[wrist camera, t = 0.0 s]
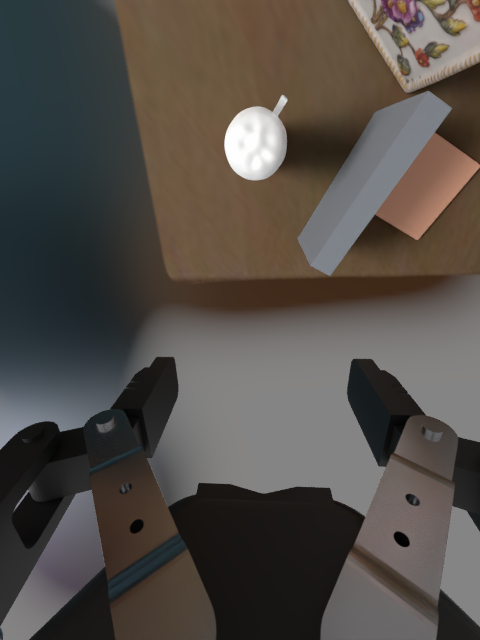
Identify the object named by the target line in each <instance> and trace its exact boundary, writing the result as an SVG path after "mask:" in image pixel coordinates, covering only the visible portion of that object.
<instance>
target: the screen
mask: <svg viewBox="0 0 480 640" xmlns="http://www.w3.org/2000/svg"><path fill="white" fill-rule="evenodd" d="M451 109H452V108H451V107H450V106H448V105H447V104H446V103H444V102H443V101H442V100H440V99H439V98H438V97H436V96H435V95H434V94H432V93H431V92H430V91H426V92H424V93H421V94H419V95H416V96H414V97H411V98H408V99H406V100H403V101H401V102H398V103H396V104H393V105H391V106H388V107H385V108H383V109H380V110H378V111H376V112H375V113H374V115H373V117H372V118H371V120H370V121H369V123H368V125H367V126H366V128H365V130H364V131H363V133H362V134H361V136H360V138H359V139H358V141H357V143H356V144H355V146H354V147H353V149H352V151H351V152H350V154H349V156H348V157H347V159H346V160H345V162H344V164H343V165H342V167H341V169H340V170H339V172H338V174H337V175H336V177H335V178H334V180H333V182H332V183H331V185H330V187H329V188H328V190H327V191H326V193H325V195H324V196H323V198H322V200H321V201H320V203H319V204H318V206H317V208H316V209H315V211H314V213H313V214H312V216H311V218H310V219H309V221H308V222H307V224H306V226H305V227H304V229H303V231H302V232H301V234H300V235H299V237H298V241H299V243H300V245H301V247H302V249H303V251H304V253H305V255H306V257H307V260H308V262H309V264H310V266H312V267H314V268H316V269H318V270H320V271H321V272H323V273H325V274H327V275H329V276H330V275H331V274H332V272H333V271H334V270H335V268H336V267H337V265H338V264H339V263H340V261H341V260H342V259H343V257H344V256H345V255H346V253H347V252H348V250H349V249H350V248H351V246H352V245H353V244H354V242H355V241H356V239H357V238H358V237H359V235H360V234H361V233H362V231H363V230H364V228H365V227H366V226H367V224H368V223H369V222H370V220H371V219H372V218H373V216H374V215H375V213H376V212H377V211H378V209H379V208H380V207H381V205H382V204H383V202H384V201H385V200H386V198H387V197H388V196H389V194H390V193H391V191H392V190H393V189H394V187H395V186H396V185H397V183H398V182H399V181H400V179H401V178H402V176H403V175H404V174H405V172H406V171H407V170H408V168H409V167H410V165H411V164H412V163H413V161H414V160H415V159H416V157H417V156H418V154H419V153H420V152H421V150H422V149H423V148H424V146H425V145H426V143H427V142H428V141H429V139H430V138H431V137H432V135H433V134H434V133H435V131H436V130H437V128H438V127H439V126H440V124H441V123H442V122H443V120H444V119H445V117H446V116H447V115H448V113H449V112H450V111H451Z"/></svg>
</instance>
